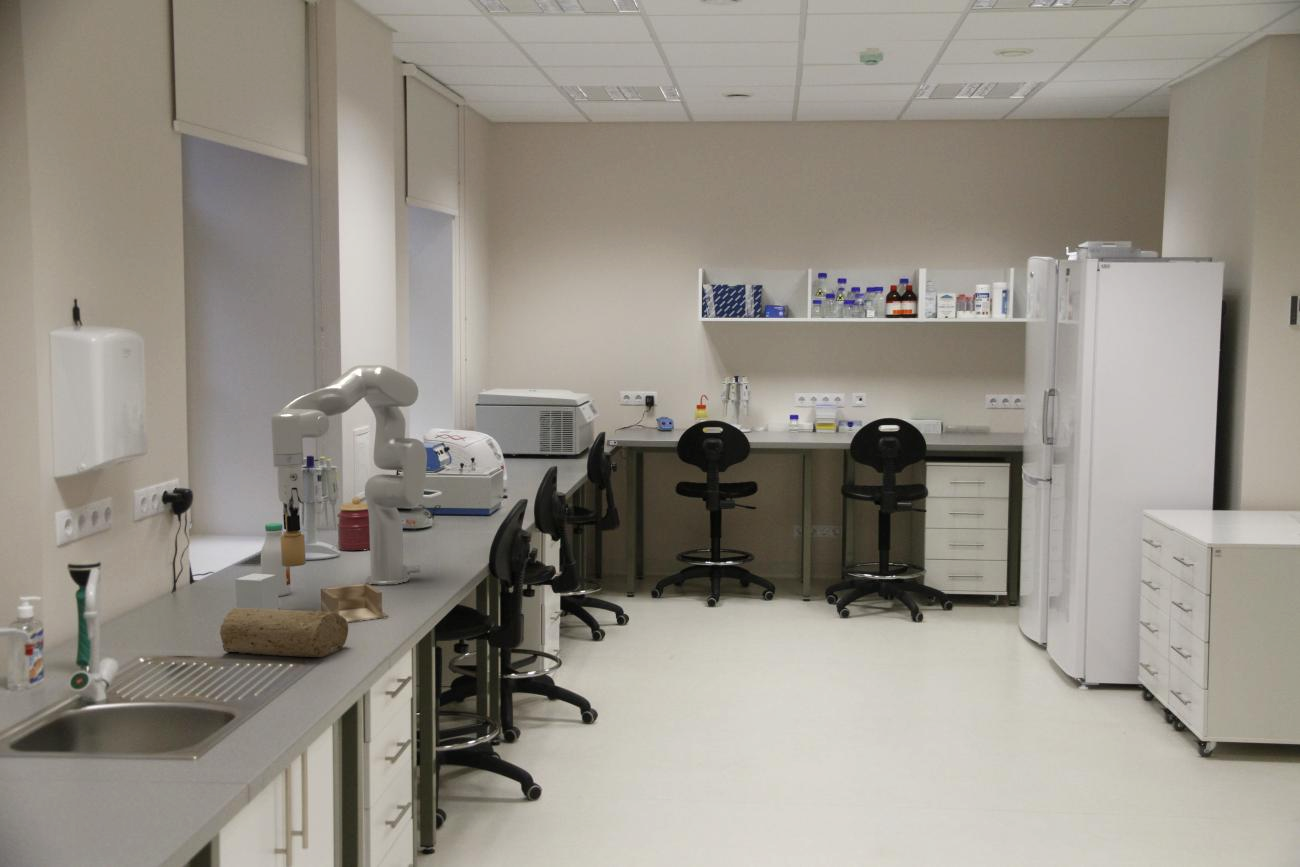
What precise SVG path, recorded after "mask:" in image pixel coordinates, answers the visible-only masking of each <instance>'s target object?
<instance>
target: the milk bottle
mask: <svg viewBox="0 0 1300 867" xmlns="http://www.w3.org/2000/svg"><path fill="white" fill-rule="evenodd" d="M264 525H265V526H264V530H265V533H266V534H265V535H266V536H265V540H264V543H263V545H262V548H261V551H260V574H270V575H277V588H278V597H282V596H287V594H288V595H289V594H291V592H292V591H291V590H292V589H291V567H286V566H282V557H281V539H280V537H281V536H282V535H283V524H282V523H281V522H271V523H266V524H264Z"/></svg>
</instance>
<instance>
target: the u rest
mask: <svg viewBox="0 0 1300 867" xmlns="http://www.w3.org/2000/svg"><path fill="white" fill-rule="evenodd" d="M320 600H321V602H320V604H321V609H320V610H319V611H318V612H335V613H338V614H339V615H340V616H343V617H344V618H345V619H346V620H347V623H348V622H352V623H356V622H355V621H359V622H363V621H362V620H367V621H370V620H369V619H375V618H382V619H385V618H384V617H388V618H389V615H388V614H387V613H386V612H384V611H383V592H382V591H381V590H379V589H377V588H375V587H374V586H373V585H371V584H367V583H363V584H362V583H361V584H354V585H345V586H336V587H328V588H321V589H320ZM375 620H376V619H375ZM348 624H349V623H348Z"/></svg>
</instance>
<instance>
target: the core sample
mask: <svg viewBox="0 0 1300 867" xmlns="http://www.w3.org/2000/svg"><path fill="white" fill-rule="evenodd" d="M219 634H220V638H221V641H222V642H221V643H222V649H223V651H224V652H226V653H229V652H239V653H238V654H245V653H251V654H250V655H260V654H262V655H263V656H277V655H278V656H279V657H281V656H282V657H283V656H284V657H301V658H302V657H304V658H306V657H307V658H308V657H309V658H324V657H327V656H329V655H332V654H334V653H337V652H338V651H339V650H341V649H342V648H343V646H344V645H345V644H346V641H347V639H348V634H349V623H347V620H346V619H345V618H344V617H343V616H340V615H339V614H338V613H335V612H319V611H314V610H313V611H311V610H293V609H292V610H291V609H279V610H276V609H254V608H237V607H235V608H233V609H231V610H230V611H228V612H227V614H226V615H225V616H224V618H223V621H222V623H221V625H220V631H219ZM262 655H261V656H262Z"/></svg>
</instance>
